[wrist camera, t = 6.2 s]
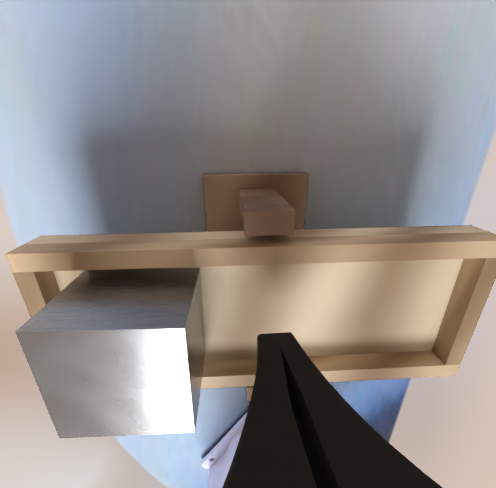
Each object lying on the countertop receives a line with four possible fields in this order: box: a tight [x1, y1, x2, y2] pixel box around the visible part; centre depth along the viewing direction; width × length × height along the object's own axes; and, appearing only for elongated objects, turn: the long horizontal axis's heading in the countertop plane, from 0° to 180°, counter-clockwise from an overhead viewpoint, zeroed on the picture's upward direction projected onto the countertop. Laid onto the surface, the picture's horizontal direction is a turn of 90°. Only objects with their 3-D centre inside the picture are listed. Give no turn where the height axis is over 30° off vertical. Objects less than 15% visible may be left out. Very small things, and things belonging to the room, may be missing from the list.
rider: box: [16, 268, 205, 438], centre depth 11 cm, size 5×5×4 cm
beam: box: [5, 225, 496, 389], centre depth 13 cm, size 20×8×2 cm, turn 90°
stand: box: [203, 172, 308, 401], centre depth 15 cm, size 6×12×6 cm, turn 1°
